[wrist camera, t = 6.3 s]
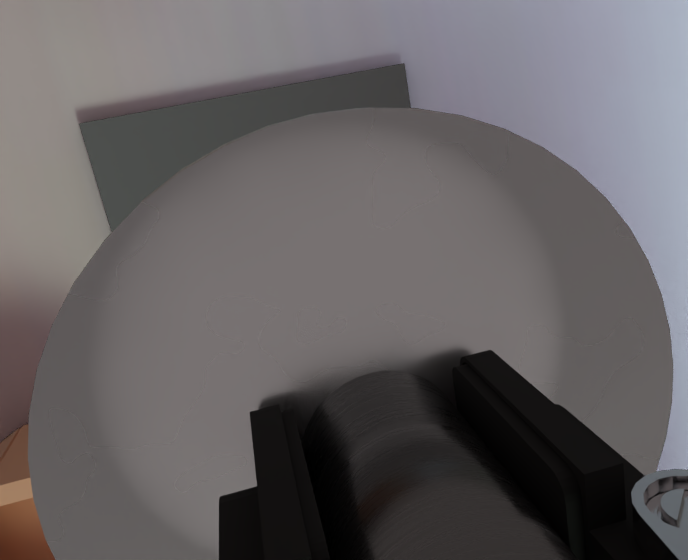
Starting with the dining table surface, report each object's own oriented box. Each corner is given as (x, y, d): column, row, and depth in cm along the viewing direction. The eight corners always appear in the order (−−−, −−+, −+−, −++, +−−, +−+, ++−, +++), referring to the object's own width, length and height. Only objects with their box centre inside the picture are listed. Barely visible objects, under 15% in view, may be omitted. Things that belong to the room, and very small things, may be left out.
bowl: (171, 384, 27) (163, 442, 22) (225, 564, 30) (227, 649, 25) (-67, 444, 26) (-130, 519, 21) (13, 626, 29) (-26, 729, 24)
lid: (634, 50, 11) (1044, -13, 6) (655, 579, 15) (920, 861, 9) (-66, 187, 9) (-465, 289, 4) (147, 746, 13) (94, 1215, 7)
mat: (401, 64, 25) (404, 63, 25) (441, 346, 29) (444, 349, 29) (81, 123, 24) (79, 123, 23) (169, 416, 27) (168, 421, 27)
